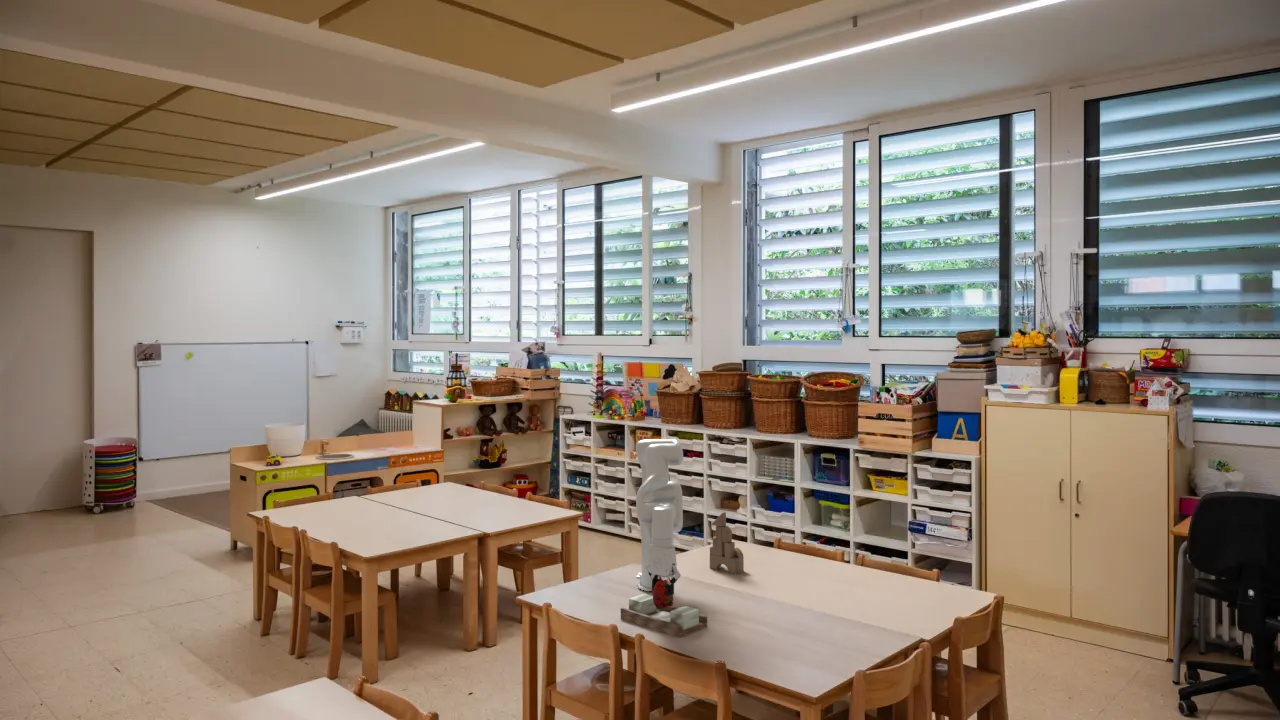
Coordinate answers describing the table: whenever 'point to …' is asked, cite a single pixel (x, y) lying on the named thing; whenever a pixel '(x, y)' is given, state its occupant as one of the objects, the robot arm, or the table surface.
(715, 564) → the wooden toy
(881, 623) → the table surface
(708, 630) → the table surface
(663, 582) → the red clay folk toy
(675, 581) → the robot arm
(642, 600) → the display tray
